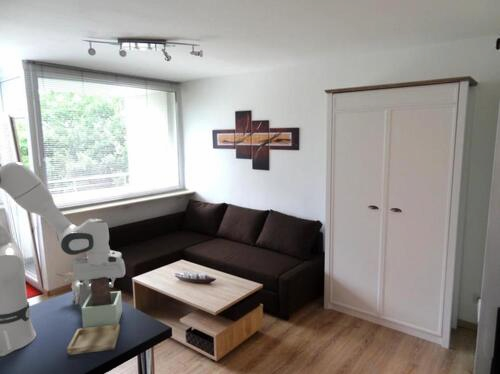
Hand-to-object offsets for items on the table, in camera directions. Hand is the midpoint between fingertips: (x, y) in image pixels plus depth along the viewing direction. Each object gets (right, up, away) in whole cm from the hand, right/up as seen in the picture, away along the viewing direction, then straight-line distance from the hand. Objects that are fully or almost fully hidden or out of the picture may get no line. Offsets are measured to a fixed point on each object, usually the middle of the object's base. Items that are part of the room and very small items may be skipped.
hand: (100, 287), depth 142 cm
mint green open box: (0, -15, +2) cm, 15 cm away
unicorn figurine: (-22, -13, +18) cm, 31 cm away
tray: (+3, -17, -12) cm, 21 cm away
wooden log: (0, -15, +2) cm, 15 cm away
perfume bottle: (-9, -14, +12) cm, 20 cm away
